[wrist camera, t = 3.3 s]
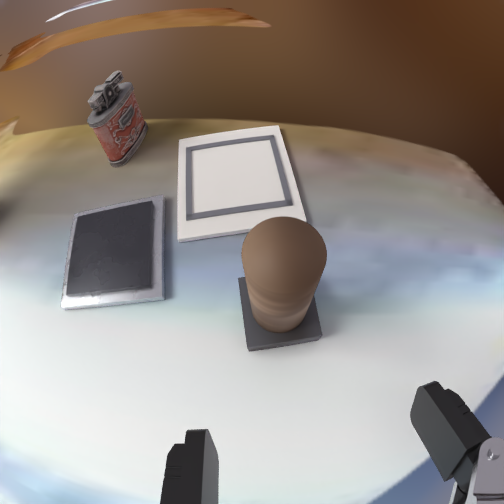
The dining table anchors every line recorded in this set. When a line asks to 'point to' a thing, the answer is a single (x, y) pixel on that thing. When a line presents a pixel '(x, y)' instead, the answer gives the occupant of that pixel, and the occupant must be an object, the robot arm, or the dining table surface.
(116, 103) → the lighter
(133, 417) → the dining table surface
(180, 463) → the robot arm
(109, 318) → the dining table surface
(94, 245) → the ink pad
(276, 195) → the marked board
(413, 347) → the dining table surface
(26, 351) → the dining table surface
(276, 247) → the stamp
